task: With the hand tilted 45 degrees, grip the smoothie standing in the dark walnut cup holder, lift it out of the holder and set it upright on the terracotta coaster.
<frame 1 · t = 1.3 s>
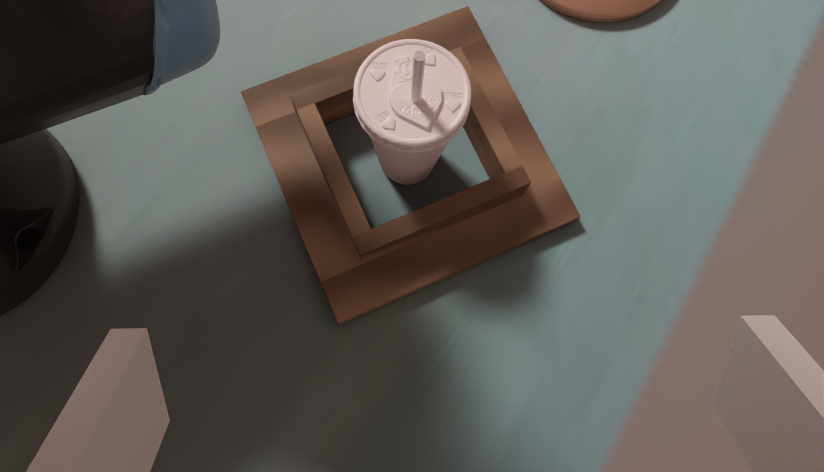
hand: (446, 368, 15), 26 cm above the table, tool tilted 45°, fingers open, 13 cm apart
smoothie: (407, 159, 43), resting in cup holder
cup holder: (407, 158, 43), on the table
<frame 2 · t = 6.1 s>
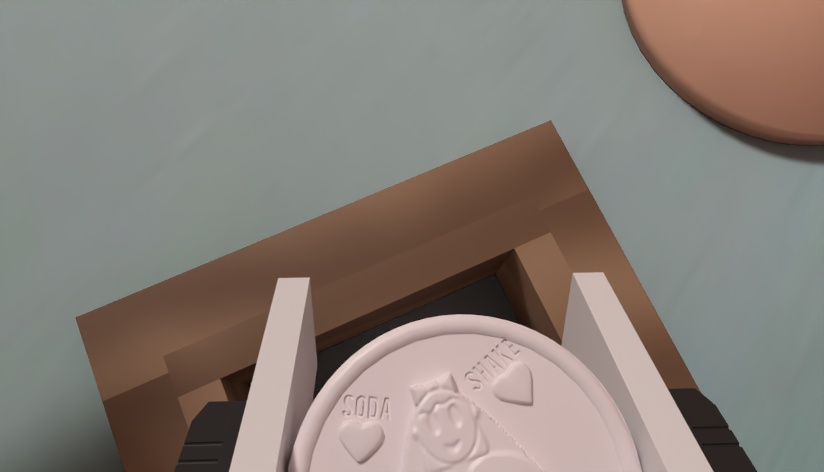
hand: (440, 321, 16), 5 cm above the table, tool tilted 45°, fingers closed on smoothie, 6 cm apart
smoothie: (431, 456, 21), resting in cup holder, touching gripper
cup holder: (431, 456, 20), on the table
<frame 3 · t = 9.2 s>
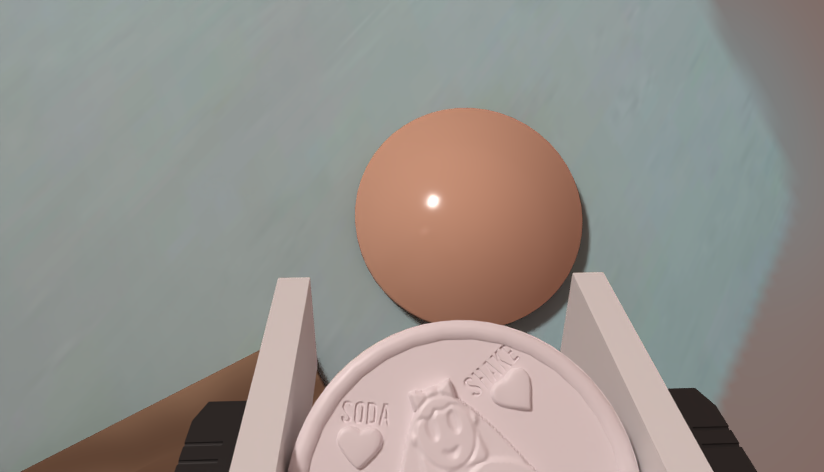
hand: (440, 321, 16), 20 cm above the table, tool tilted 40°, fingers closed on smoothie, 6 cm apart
coaster: (467, 218, 37), on the table
smoothie: (430, 459, 21), point 15 cm above the table, touching gripper
when the fingers open (8 cm above the table, at t = 12.6 s): smoothie drops 1 cm, resting on coaster.
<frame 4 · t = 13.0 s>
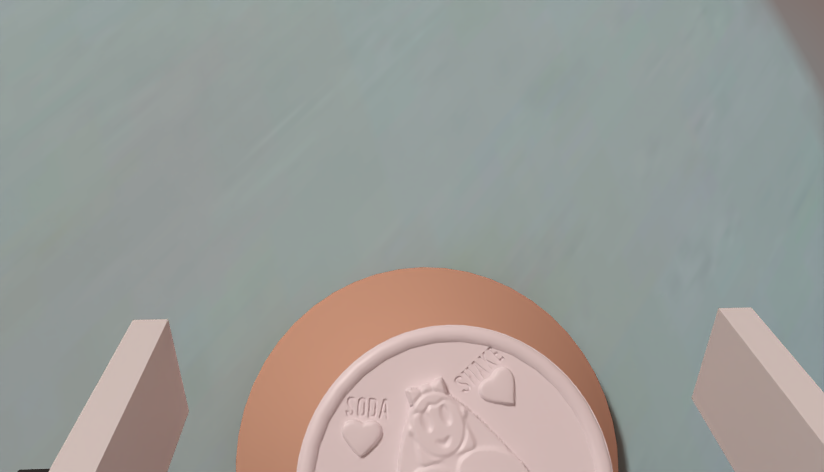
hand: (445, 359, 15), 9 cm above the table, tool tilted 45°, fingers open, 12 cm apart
coaster: (427, 452, 23), on the table
smoothie: (427, 458, 22), point 1 cm above the table, touching coaster
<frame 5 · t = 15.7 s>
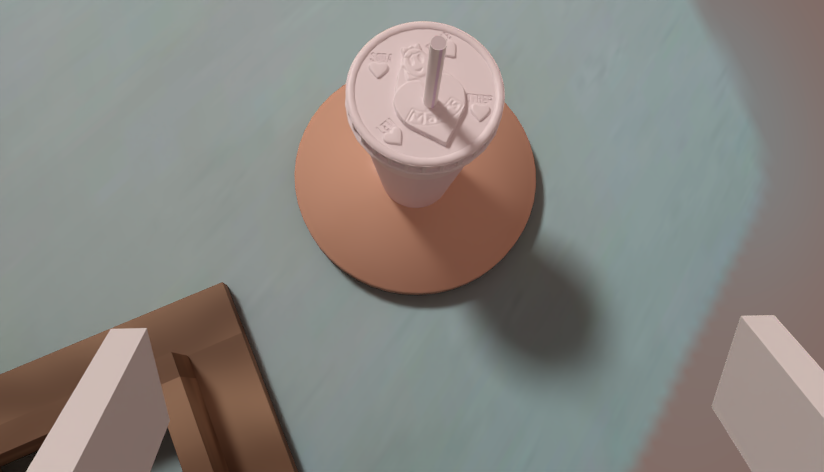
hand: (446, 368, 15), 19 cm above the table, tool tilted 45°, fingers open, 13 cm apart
coaster: (415, 178, 35), on the table
smoothie: (415, 176, 35), point 1 cm above the table, touching coaster
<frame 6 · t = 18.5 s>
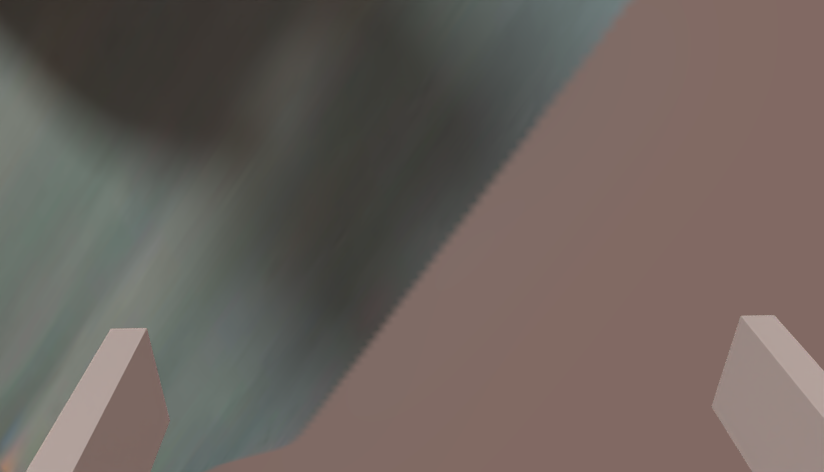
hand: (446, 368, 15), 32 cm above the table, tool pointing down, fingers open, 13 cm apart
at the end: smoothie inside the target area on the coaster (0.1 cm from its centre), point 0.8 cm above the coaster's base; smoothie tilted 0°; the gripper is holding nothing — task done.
